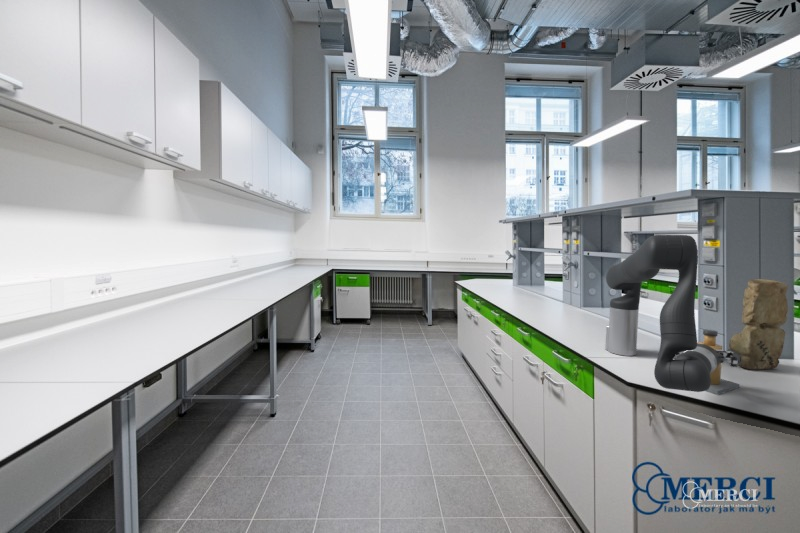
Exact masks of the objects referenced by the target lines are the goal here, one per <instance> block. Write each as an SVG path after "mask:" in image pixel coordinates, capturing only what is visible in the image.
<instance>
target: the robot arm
mask: <svg viewBox="0 0 800 533" xmlns="http://www.w3.org/2000/svg"><path fill="white" fill-rule="evenodd" d="M698 252H699V251H698V245H697V242H696V240H695V238H694V237H693V236H691V235H687V234H654V235H651V236H649V237H648V238H646V239H645V240H644V242H643V243H642V244H641V245H640V246H639V247H638V249H636V251H635V252H633V253H632V254H630V255H629V256H627V257H626V258H625V259H624V260H622V261H621V262H619V263H618V264H614V265H611V266H610V268H609V269H608V270H607V272H606V277H605V279H606V284H607V286H608V287H609V288H610V289H612V290H616V291H617V290H618V291H626V292H627V293H625V294H623V295H620V296H619V297H614V298H612V299H611V300H610V301H609V322H608V325H606V327H605V328H606V329H605V330H606V331H605V350H606V351H608V352H609V353H612V354H615V355H618V356H627V357H629V356H630V357H631V356H633V357H634V356H636V355H637V348H638V346H637V344H638V329H639V311H640V310H639V309H640V299H641V289H642V288H641V287H642V283H643V282H647V281H649V280H651V279H653V278H654V277H655V276H657V275H658V274H659V273H660V271H661V270H674V271H678V280H677V284H676V286H675V288H674V290H673V292H672V293H671V294H670V295H669V297H668V298H667V299H666V301H665V303H664V305H662V307H661V311H660V312H659V313H660V314H659V329H660V330H659V331H660V346H659V352H658V355H657V358H656V361H655V365H654V370H653V371H654V373H653V374H654V378H655V380H656V383H657V384H659V386H661V387H662V388H664V389H667V390H677V391H686V392H695V393H701V392H707V391H706V390H708V389H709V387H710V385H711V376H710V374H711V373H712V372H713V371H714V370H715V369H716V368H717V367H718V365H719V364H720V363H721V364H725V363H729V364H728V365H730V367H732V368H736V367H738V366H739V364H741V358H742V354H740V353H736V354H735V351H732V349H730V348H729V349H727V350H724V349H722V350H714V349H713V348H712V347H710V346H708V345H705V344H697V343H698V336H697V335H698V334H697V326H696V317H695V316H696V315H695V314H696V313H695V302H696V290H697V276H698V258H699V253H698ZM726 355H727V357H726ZM675 356H676V357H675Z"/></svg>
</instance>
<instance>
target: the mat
mask: <svg viewBox="0 0 800 533" xmlns="http://www.w3.org/2000/svg"><path fill="white" fill-rule="evenodd" d="M740 387H741V384H740V383H737V382H733V381H732V380H727V379H723V378H721V379H720V384H719V385H710V387H709V389H708V390H706V391H705V392H708V393H711V394H714V395H718V396H719V395H720V394H723V393H727V392H729V391H733V390H736V389H739V388H740Z"/></svg>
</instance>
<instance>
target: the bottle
mask: <svg viewBox="0 0 800 533" xmlns="http://www.w3.org/2000/svg"><path fill="white" fill-rule="evenodd" d="M702 334H703V335H704V336H703V341H700V342H698V341H697V344H705V345H708V346H710V347H712V348H713V349H714V350H723V345H720V344H717V341H716V340H717V337H718V331H717V330H714V329H703V330H702ZM721 374H722V363H720V364H719V365H718V367H717V368H716V369H715V370H714V371H713V372H712V373H711V374H710V376H711V385H719V384H720V379H722V378H721V377H722V376H721Z"/></svg>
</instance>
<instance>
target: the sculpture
mask: <svg viewBox="0 0 800 533" xmlns="http://www.w3.org/2000/svg"><path fill="white" fill-rule="evenodd" d="M788 288H789V284H788V283H786V282H782V281H778V280H774V279H773V280H772V279H763V278H759V279H758V278H754V279H749V280H748V282H747V287H746V288H745V289H744V292H743V294H744V295H743V296H744V298H743V299H742V308H743V309H742V310H743V311H742V313H741V322H742V324H743V325H745V326H744V327H743V328H742V330H741V331H740V332H739V333H735V334H733V335H732V336H731V338H729V342H728V347H729V349H732V351H735V354H736V353H740V354H742V358H741V364H739V365H738V366H739V367H740V368H744V369H746V370H751V371H752V370H753V371H754V370H760V371H761V370H773V369H776V368H777V367H778V365H779V364H780V360H779V359H780V357H781V356H782V354H783V353H782V352H783V350H784V344H785V339H786V331H785V330H784V329H782V328H781V326H782V325H783V326H784V324H786V322H787V320H788V317H787V314H788V311H789V309H788V308H789V307H788V298H787V296H786V294H787V292H788ZM726 357H727V354H726Z"/></svg>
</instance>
